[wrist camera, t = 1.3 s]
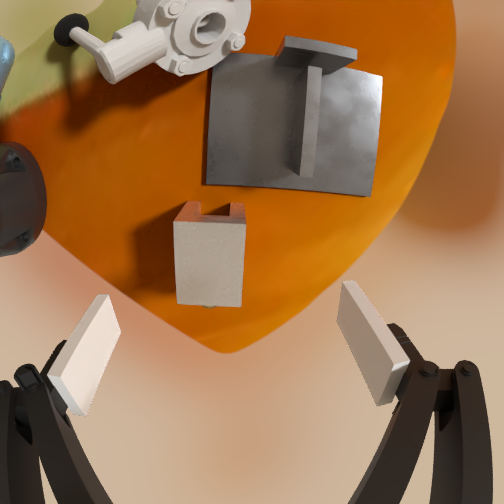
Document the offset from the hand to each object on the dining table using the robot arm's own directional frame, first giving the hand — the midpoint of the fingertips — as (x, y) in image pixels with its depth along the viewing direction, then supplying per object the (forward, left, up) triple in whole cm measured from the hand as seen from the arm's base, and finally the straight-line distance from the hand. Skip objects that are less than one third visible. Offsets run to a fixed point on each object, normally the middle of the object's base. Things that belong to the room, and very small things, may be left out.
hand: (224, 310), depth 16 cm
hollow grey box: (-2, -2, -17) cm, 17 cm away
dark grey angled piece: (+6, +11, -17) cm, 21 cm away
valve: (-10, +21, -17) cm, 29 cm away
